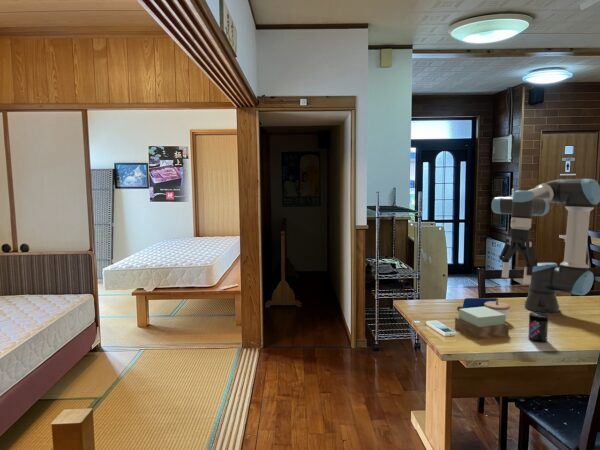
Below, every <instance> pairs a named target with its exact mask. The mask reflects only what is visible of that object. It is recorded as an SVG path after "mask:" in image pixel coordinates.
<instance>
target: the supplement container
mask: <svg viewBox="0 0 600 450" xmlns="http://www.w3.org/2000/svg"><path fill="white" fill-rule="evenodd" d="M548 326H549V314H548V313H545V312H537V311H531V312H529V313H528V335H527V336H528V339H529V340H530V341H532V342H535V343H546V342H547V341H548V331H549V327H548Z"/></svg>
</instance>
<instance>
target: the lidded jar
mask: <svg viewBox="0 0 600 450" xmlns="http://www.w3.org/2000/svg"><path fill="white" fill-rule="evenodd" d="M484 306H485V307H487V308H490V309H492V310H495V311H497V312H500V313H502V314H505V315H506V320H508V318H509V315H510V308H511V305H510V304H509V303H506V302H502V301H499V300H498V301H489V302H485V303H484Z"/></svg>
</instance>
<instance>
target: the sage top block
mask: <svg viewBox="0 0 600 450" xmlns="http://www.w3.org/2000/svg"><path fill="white" fill-rule="evenodd" d="M458 317H459V318H460V319H462V320H464V321H467V322H469V323H471V324H473V325H475V326H477V327H485V326H494V325H503V324H505V323H506V320H507V319H506V315H505V314H502V313H500V312H497V311H495V310H492V309H490V308H487V307H485V306H484V307H473V308H463V309H459V310H458Z"/></svg>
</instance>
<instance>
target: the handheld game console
mask: <svg viewBox="0 0 600 450" xmlns="http://www.w3.org/2000/svg"><path fill="white" fill-rule="evenodd" d="M489 301H498V302H499V299H498V298H497V297H491V298H490V297H489V298H488V297H486V298H485V297H475V298H474V297H467V298H464V300H463V302H462V303H463V304H462V306H457V308H456V309H457V310H458V311H459V309H463V308H473V307H484V303H485V302H489Z"/></svg>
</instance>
